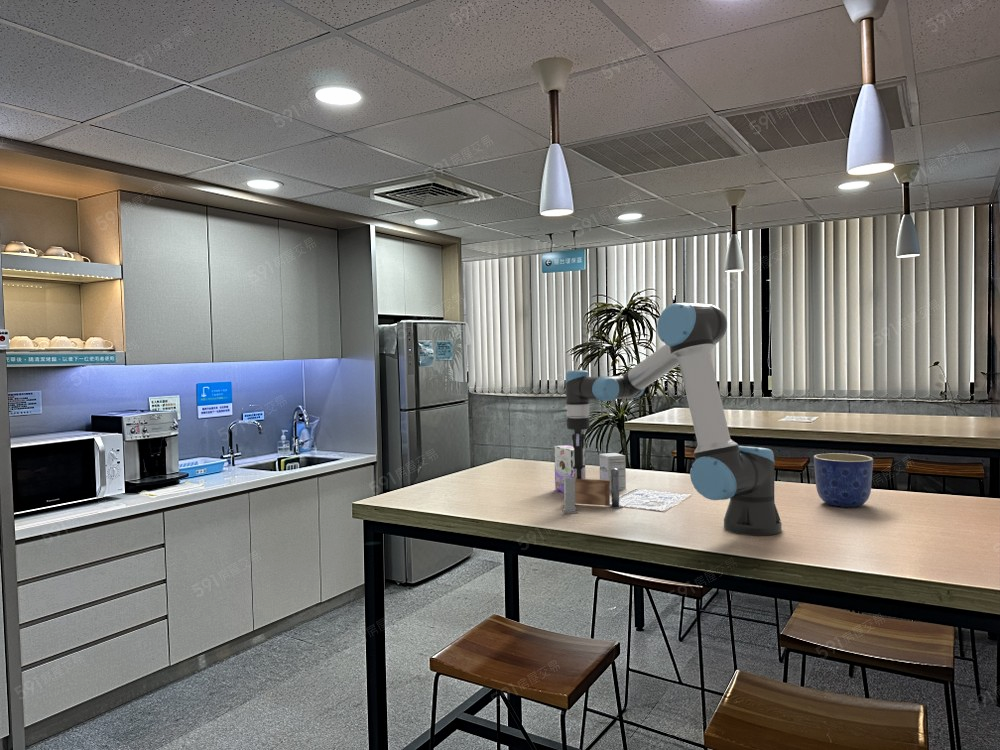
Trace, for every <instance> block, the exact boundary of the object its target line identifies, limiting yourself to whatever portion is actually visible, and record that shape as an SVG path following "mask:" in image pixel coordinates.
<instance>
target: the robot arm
mask: <svg viewBox="0 0 1000 750" xmlns="http://www.w3.org/2000/svg"><path fill="white" fill-rule="evenodd" d="M727 328H728V321H727V316H726V315H725V313H724V312H723V311H722V309H721V308H719V307H718V306H715V305H714V304H710V303H695V302H694V303H692V302H691V303H690V302H684V301H683V302H677V303H676V302H675V303H671V304H670V305H668V306H666V307H665V308H664V309H663V310H662V311H661V314H660V316H658V319H657V325H656V331H657V335H658V338H659V339H660V341H661V342H663V343H664V345H662V346H661V347H660V348H658V349H657V350H656V351H654V352H653V353H651V354H650V355H649V356H648V357H646V358H645V359H643V360H642V361H641V362H639V363H638V364H636V365H635V366H633V367H632V368H631V369H629V370H628V371H626V373H624V374H622V375H612V376H610V375H608V376H590V375H589V371H588V370H583V369H582V370H581V369H579V370H576V369H575V370H568V371H566V374H565V384H564V385H565V399H566V401H565V402H566V403H565V404H566V406H564V410H566V416H567V418H566V428H567V429H568V430H573V431H574V433H572V435H571V440H572V446H573V448H574V458H575V465H574V467H573V469H575V478H578V479H584V478H583V467H585V468H586V464H585V465H583V449H584V446H585V433H583V430H588V429H590V417H589V416H590V401H601V402H608V401H611V402H612V401H614V400H619V399H620V400H621V399H622V400H623V399H634V398H638V397H641V396H642V395H644V392H645V390H646V388H647V387H648V386H650V385H651V384H653V383H654V382H656V381H657V380H659V379H660V378H662V377H663V376H665V375H666V374H667V373H669V372H670V371H672V370H673V369H675V368H677V367H678V366H679V369H680V375H681V377H682V381H683V387H684V392H685V395H686V399H687V403H688V404H687V405H688V408H689V412H690V415H691V416H690V417H691V421H692V426H693V429H694V434H695V438H696V443H697V447H696V448H695V450H694V451H693V455H694V459H695V460H694V462H693V463H692V465H691V466H692V467H691V468H690V471H689V476H690V481H691V484H692V485H693V487H694V489H695V490H696V492H697V493H698V494H700V495H701V496H702V497H704V498H705V499H707V500H709V501H720V500H721V501H725V500H729V502H728V505H727V509H726V512H725V514H724V515H725V516H723V517H724V518H723V528H724V529H725V530H726V531H729V532H730V533H731V532H732V533H735V534H741V535H747V536H748V535H749V536H773V535H777V534H780V533H781V532H782V526H783V525H782V523H783V522H782V520H781V518H780V515H779V512H778V509H777V506H776V504H775V465H776V463H775V455H774V452H773V450H772V449H770V448H765V447H758V446H757V447H756V446H746V445H745V446H744V445H739V444H738V443H737V442H735V441H734V440H733V439H731V436H730V431H729V426H728V422H727V418H726V414H725V410H724V408H723V407H724V405H723V403H722V398H721V395H720V389H719V386H718V382H717V377H716V373H715V370H714V369H715V368H714V365H713V361H712V357H711V352H712V350H713V348H714V347H715V345H717V344H718V343H719V342H720V341H721V340H722V339H723V338H724V337H725V335H726V332H727V330H728V329H727Z"/></svg>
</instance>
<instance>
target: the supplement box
mask: <svg viewBox="0 0 1000 750" xmlns="http://www.w3.org/2000/svg"><path fill="white" fill-rule="evenodd" d="M626 462H627V461H626V455H624V454H620V453H618V452H609V453H608V452H607V453H599V479H604V480H610V491H611V492H612V489H611V470H612V469H614V468H616V469H618V470H619V491H621V490H626V489H627V485H626V484H627V482H626V480H627V478H626V477H627V473H626V470H627V469H626V465H627V464H626Z"/></svg>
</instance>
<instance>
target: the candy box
mask: <svg viewBox="0 0 1000 750" xmlns="http://www.w3.org/2000/svg"><path fill="white" fill-rule="evenodd" d="M553 449H554V450H553V451H554V456H553V457H554V484H555V487H554V489H556V490H555V491H557V490H558V492H560V493H563V494H564V482H563V477H574V478H575V469H573V467H574V465H575V458H574V448H573V445H568V444H565V445H564V444H563V445H554V446H553ZM583 465H585V467H583V478H584V479H586V448H583Z"/></svg>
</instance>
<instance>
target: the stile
mask: <svg viewBox="0 0 1000 750" xmlns="http://www.w3.org/2000/svg"><path fill="white" fill-rule="evenodd" d="M563 480H564V493H563V507H564V508H563V509H561V512H562V513H563V514H565V515H570V514H571V515H572V514H579V511H578V510H577V508H576V504H575V481H576V478H574V477H563Z"/></svg>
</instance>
